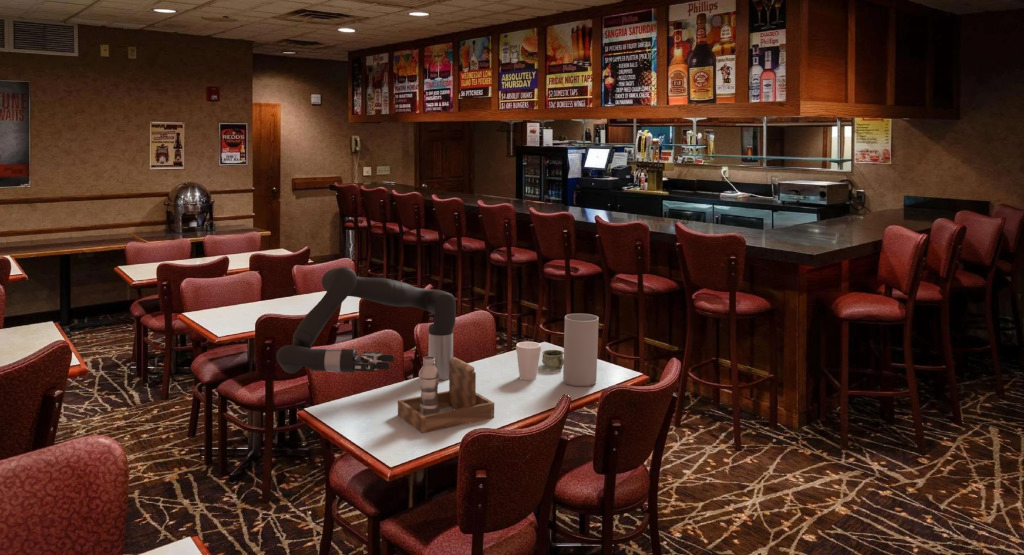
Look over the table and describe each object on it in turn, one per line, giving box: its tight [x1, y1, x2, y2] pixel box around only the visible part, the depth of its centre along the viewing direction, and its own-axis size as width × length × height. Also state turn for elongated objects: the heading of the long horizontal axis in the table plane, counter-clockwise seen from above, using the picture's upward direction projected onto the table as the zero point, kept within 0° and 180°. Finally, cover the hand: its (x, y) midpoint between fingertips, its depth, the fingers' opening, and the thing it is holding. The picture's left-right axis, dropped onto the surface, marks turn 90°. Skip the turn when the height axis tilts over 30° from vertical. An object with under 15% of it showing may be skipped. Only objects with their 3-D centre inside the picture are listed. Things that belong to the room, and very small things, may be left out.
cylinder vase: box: [562, 313, 600, 388], centre depth 281 cm, size 12×12×25 cm
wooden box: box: [397, 356, 495, 434], centre depth 244 cm, size 18×26×18 cm
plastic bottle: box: [418, 356, 441, 416], centre depth 243 cm, size 6×7×20 cm
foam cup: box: [515, 341, 542, 381], centre depth 286 cm, size 10×9×13 cm
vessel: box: [541, 349, 564, 371], centre depth 300 cm, size 12×9×6 cm
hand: (391, 361), depth 241 cm, fingers open, 8 cm apart
